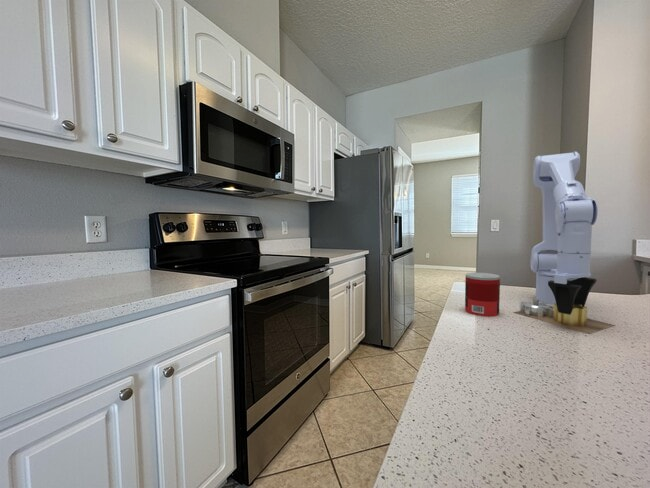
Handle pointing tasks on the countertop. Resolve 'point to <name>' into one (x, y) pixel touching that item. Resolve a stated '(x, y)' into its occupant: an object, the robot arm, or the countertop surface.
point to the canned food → (482, 294)
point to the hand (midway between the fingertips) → (571, 310)
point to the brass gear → (572, 316)
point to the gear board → (588, 328)
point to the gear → (536, 309)
